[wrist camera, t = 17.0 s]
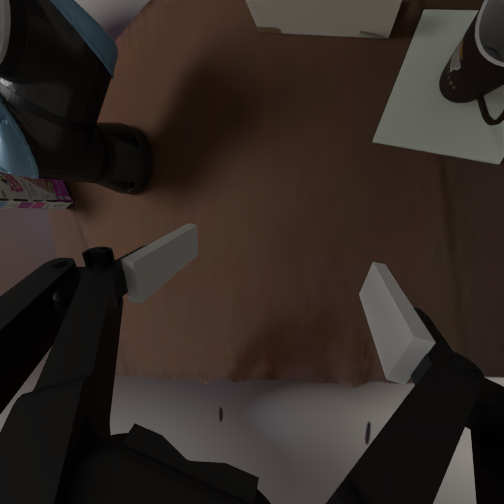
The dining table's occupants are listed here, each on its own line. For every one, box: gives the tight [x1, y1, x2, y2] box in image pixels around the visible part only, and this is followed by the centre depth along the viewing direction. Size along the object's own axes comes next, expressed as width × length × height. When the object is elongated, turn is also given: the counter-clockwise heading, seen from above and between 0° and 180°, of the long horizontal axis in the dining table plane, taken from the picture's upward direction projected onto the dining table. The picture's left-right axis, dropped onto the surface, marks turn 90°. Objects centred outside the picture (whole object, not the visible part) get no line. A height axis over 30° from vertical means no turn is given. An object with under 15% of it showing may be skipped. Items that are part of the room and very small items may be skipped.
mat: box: [372, 10, 504, 165], centre depth 28 cm, size 16×16×1 cm
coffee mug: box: [439, 0, 504, 125], centre depth 23 cm, size 12×9×10 cm
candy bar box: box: [0, 171, 74, 209], centre depth 53 cm, size 11×5×16 cm, turn 27°
